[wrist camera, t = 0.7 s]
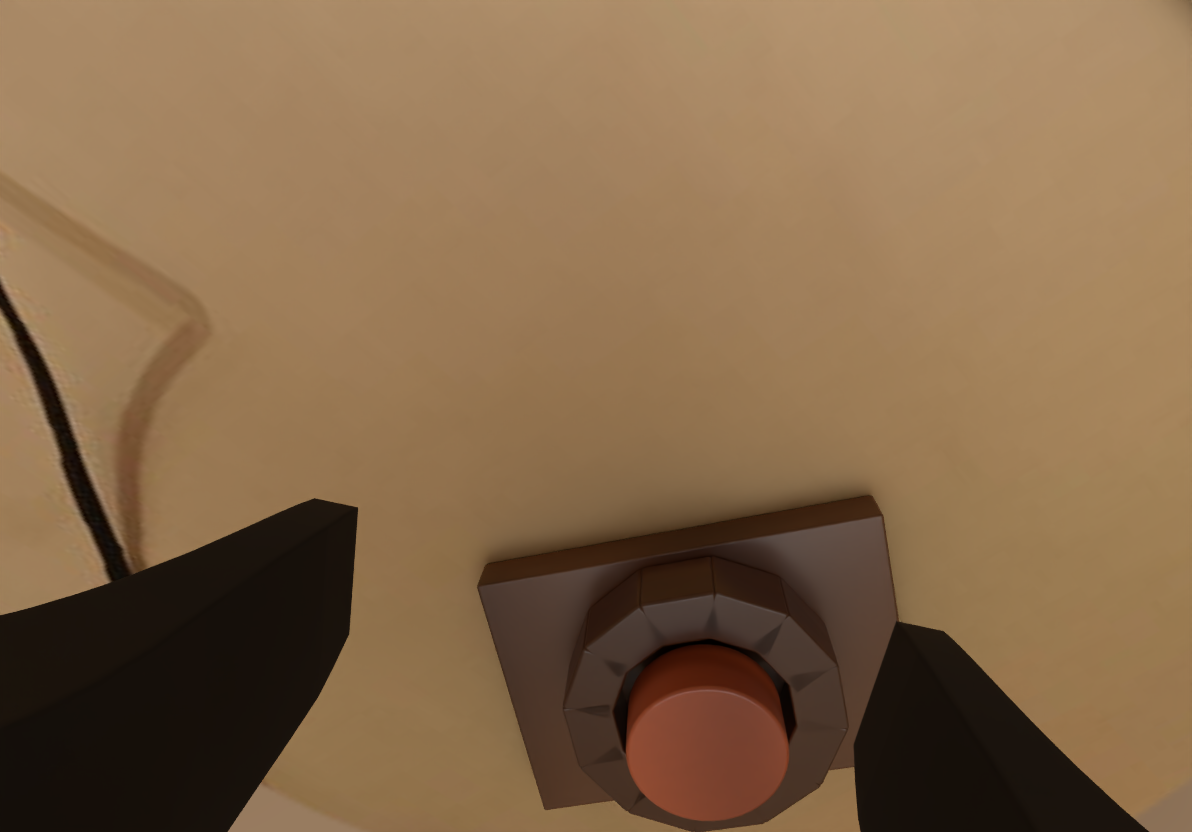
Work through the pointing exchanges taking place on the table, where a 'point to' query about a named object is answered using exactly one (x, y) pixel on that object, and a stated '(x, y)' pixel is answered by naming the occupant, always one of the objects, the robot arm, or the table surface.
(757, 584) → the switch block
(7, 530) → the table surface
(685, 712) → the button
